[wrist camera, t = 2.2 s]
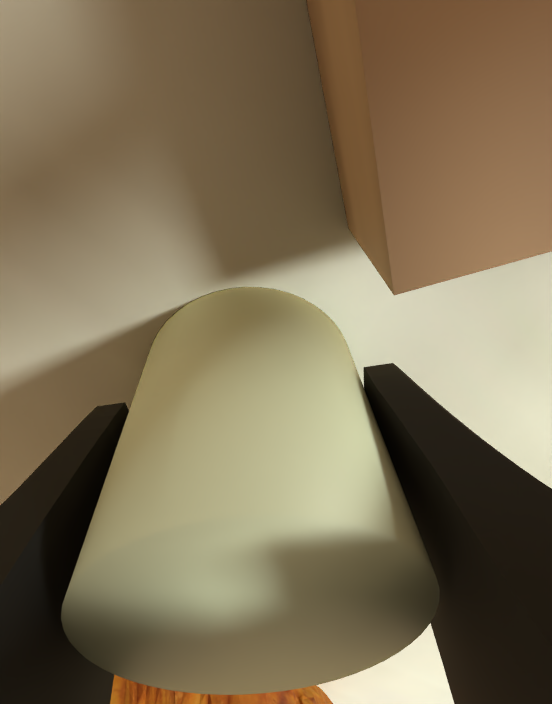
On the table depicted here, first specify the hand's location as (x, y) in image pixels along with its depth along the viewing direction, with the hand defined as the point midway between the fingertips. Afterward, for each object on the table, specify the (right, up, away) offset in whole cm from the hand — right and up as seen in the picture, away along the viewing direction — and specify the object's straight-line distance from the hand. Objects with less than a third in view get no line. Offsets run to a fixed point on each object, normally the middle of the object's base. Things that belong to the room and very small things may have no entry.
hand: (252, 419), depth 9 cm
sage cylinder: (0, +1, +1) cm, 1 cm away
